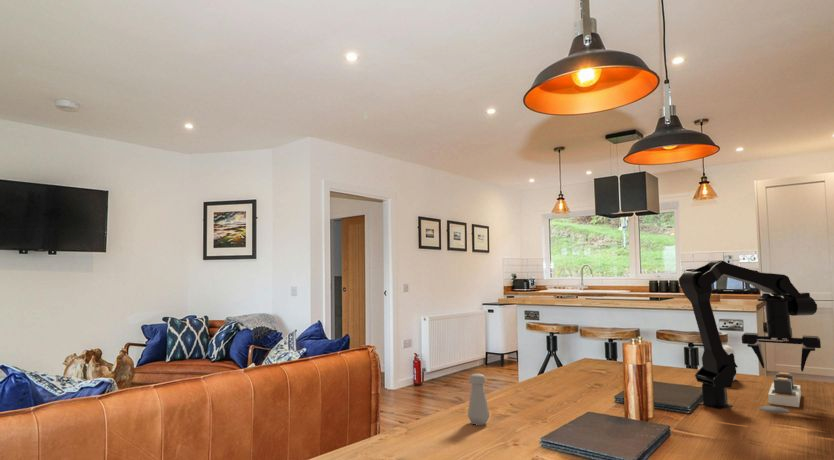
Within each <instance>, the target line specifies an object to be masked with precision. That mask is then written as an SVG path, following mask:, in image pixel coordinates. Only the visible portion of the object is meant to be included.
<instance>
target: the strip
mask: <svg viewBox="0 0 834 460" xmlns="http://www.w3.org/2000/svg"><path fill="white" fill-rule="evenodd" d="M778 377H780V378H788V379H791V381H792V392H793V396H792V395H786V394H777V393H775V389H774V382H772V383H771V385H770V388H769V391H768V394H767V397H768V404H770V405H776V406H777V405H778V406H786V407H793V408H800V404H801V403H800V402H801V397H802V392H801V390H802V389H801V384H800V385H799V384H794V373H790V372H785V371H784V372H783V371H779V372H776V373H775V378H778Z"/></svg>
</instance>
